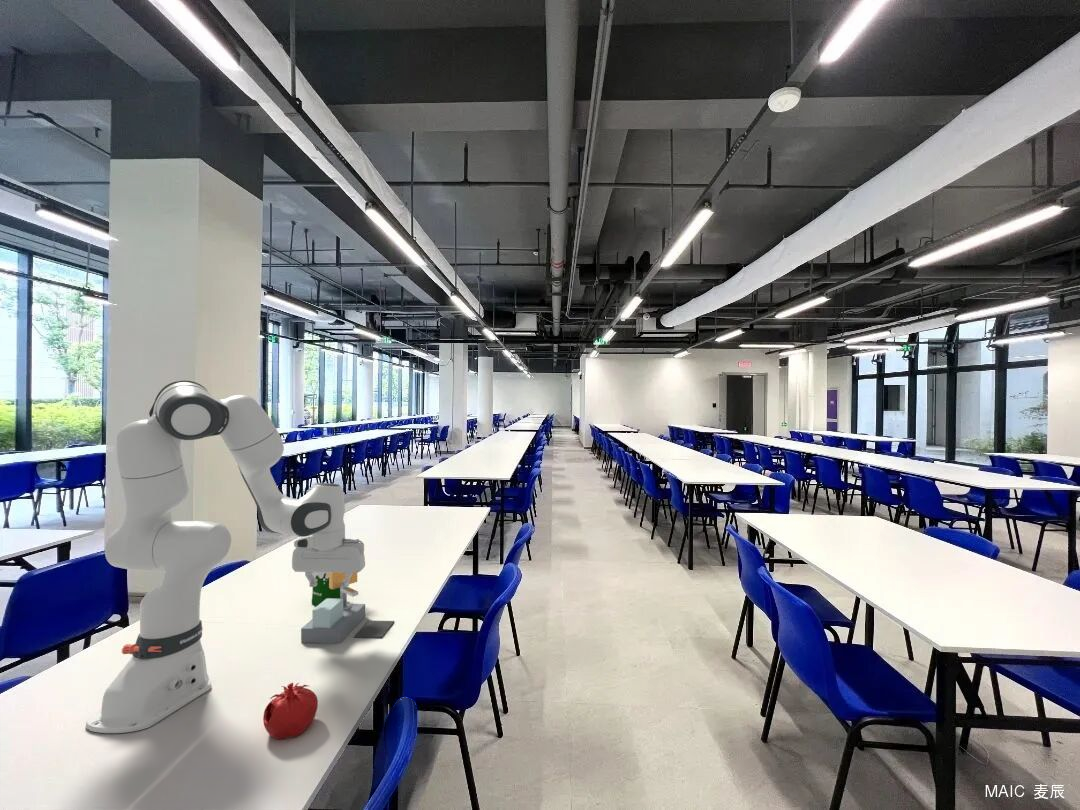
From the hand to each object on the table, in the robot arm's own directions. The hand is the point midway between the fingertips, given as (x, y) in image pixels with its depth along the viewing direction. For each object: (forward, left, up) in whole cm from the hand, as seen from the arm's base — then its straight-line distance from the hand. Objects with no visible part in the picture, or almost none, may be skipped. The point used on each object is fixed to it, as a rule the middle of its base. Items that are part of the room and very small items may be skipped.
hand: (329, 586), depth 137 cm
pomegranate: (-39, -12, -14) cm, 43 cm away
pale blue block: (0, 0, -10) cm, 10 cm away
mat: (+4, -12, -14) cm, 19 cm away
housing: (+4, 0, -14) cm, 14 cm away
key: (+7, -2, -10) cm, 12 cm away
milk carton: (+23, +12, -14) cm, 29 cm away
